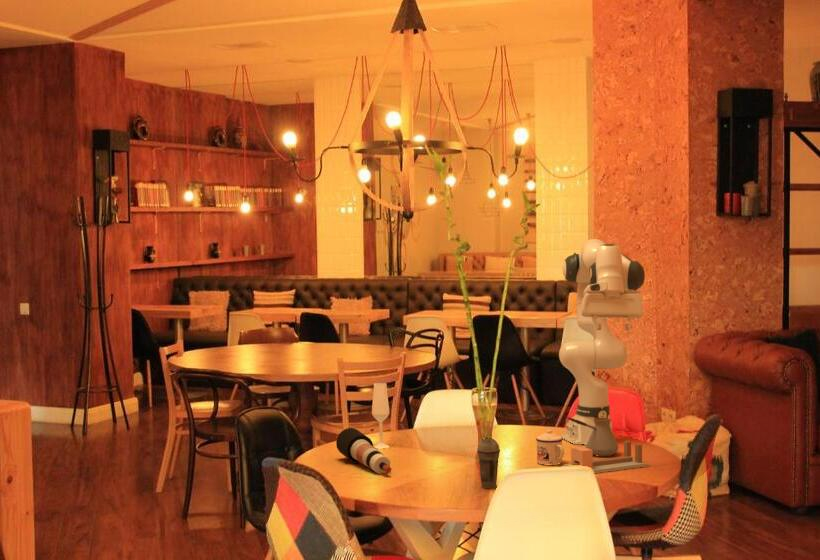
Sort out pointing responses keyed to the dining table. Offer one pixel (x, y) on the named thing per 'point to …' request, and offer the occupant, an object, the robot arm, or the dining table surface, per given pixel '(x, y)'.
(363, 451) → the cable
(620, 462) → the rail board
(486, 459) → the beverage cup
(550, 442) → the teacup with lid
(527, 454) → the dining table surface
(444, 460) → the dining table surface
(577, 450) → the block
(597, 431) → the coffee pot
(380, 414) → the champagne flute
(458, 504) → the dining table surface
